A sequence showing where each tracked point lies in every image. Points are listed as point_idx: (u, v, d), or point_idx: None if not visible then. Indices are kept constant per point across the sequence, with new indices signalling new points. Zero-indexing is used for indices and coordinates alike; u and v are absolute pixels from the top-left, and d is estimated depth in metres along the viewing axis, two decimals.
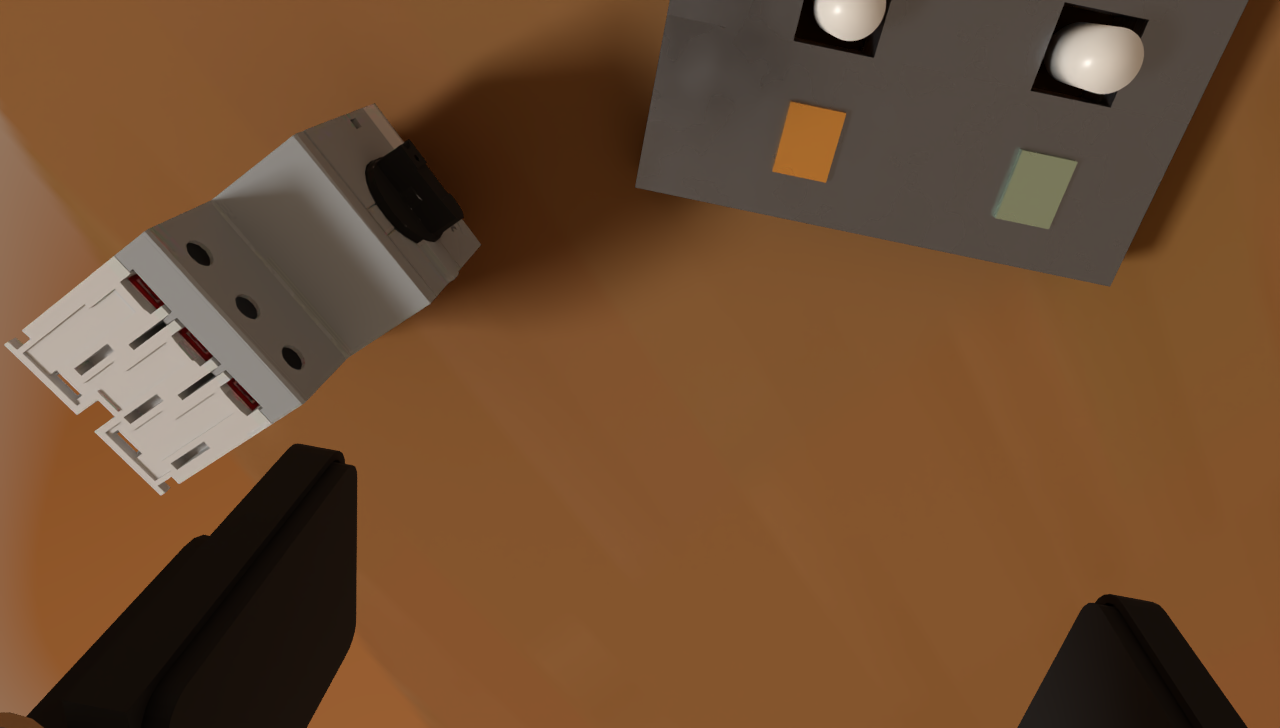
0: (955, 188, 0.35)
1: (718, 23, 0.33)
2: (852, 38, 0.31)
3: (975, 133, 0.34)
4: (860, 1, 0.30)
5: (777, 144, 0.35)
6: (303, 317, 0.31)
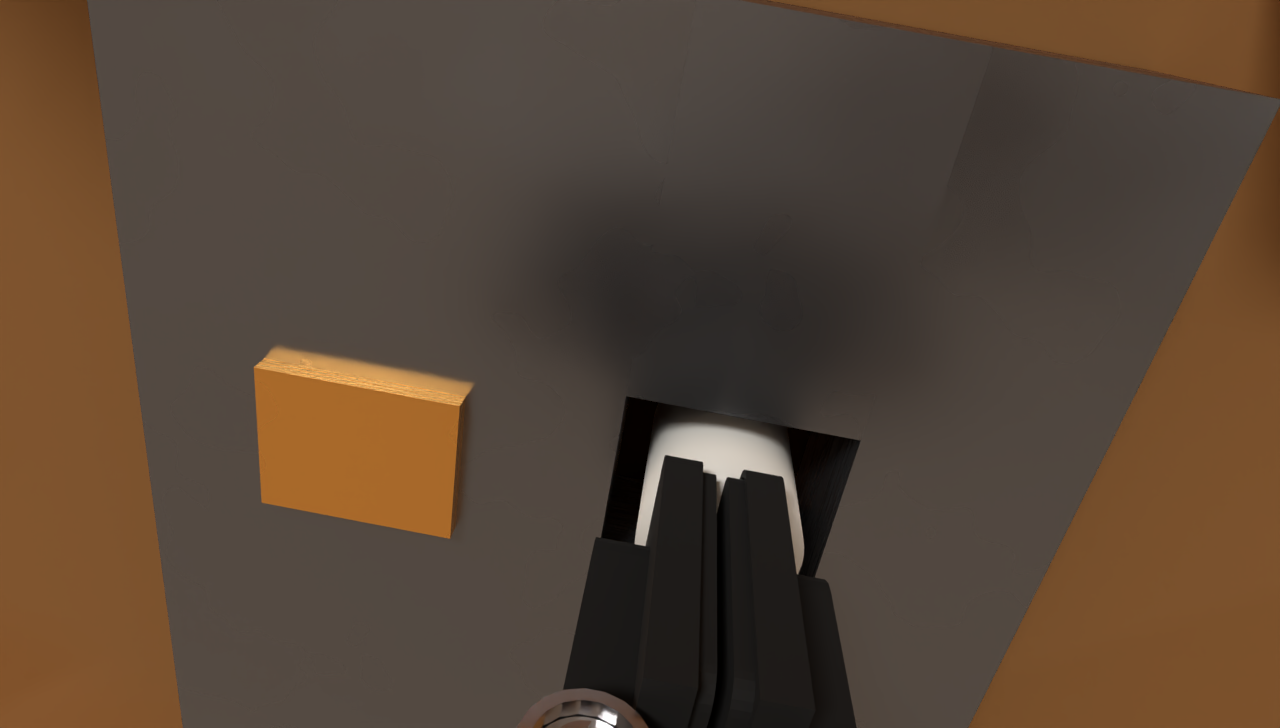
0: None
1: (670, 178, 0.10)
2: None
3: None
4: None
5: (339, 369, 0.12)
6: None
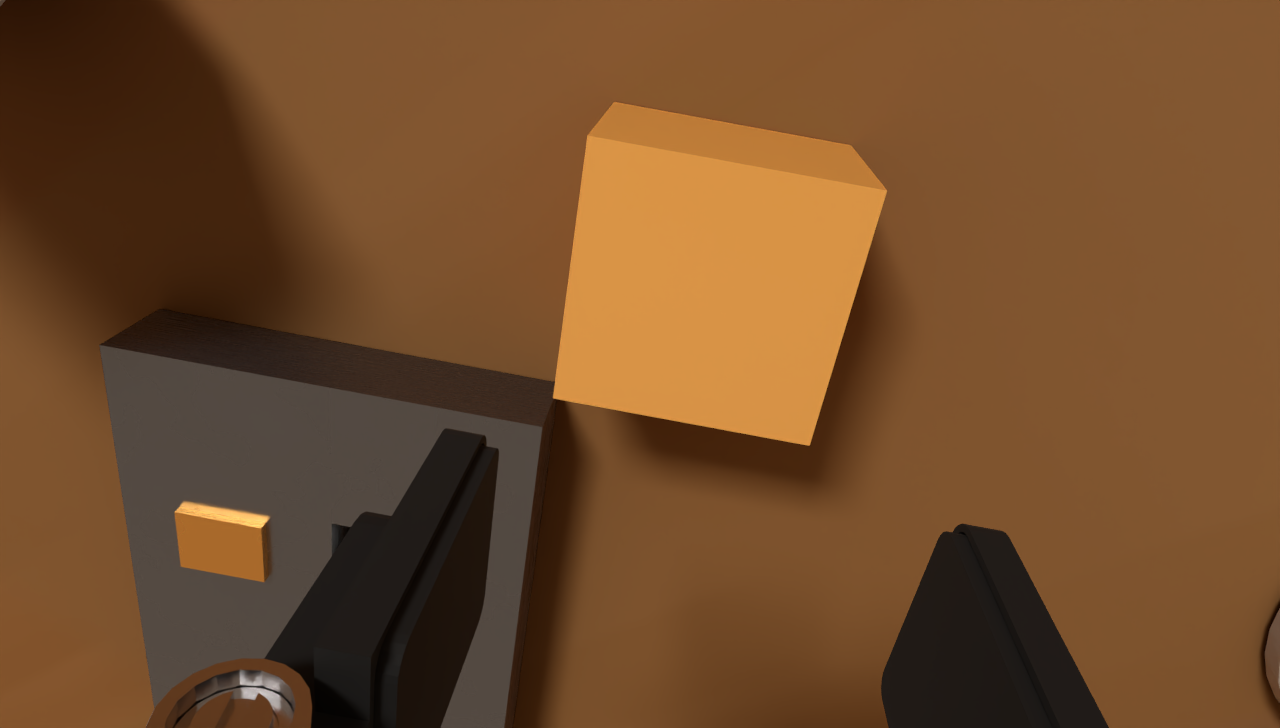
0: None
1: (332, 445, 0.26)
2: None
3: None
4: None
5: (211, 511, 0.28)
6: None
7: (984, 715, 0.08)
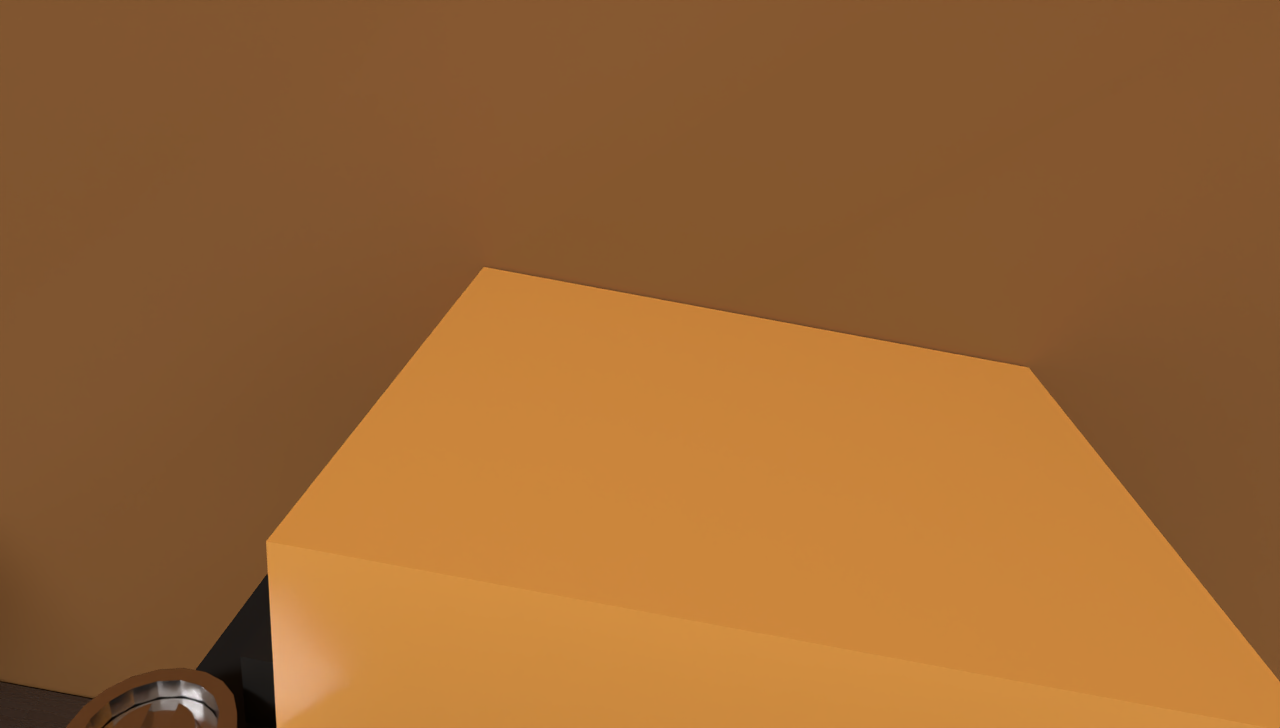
0: None
1: None
2: None
3: None
4: None
5: None
6: None
7: None
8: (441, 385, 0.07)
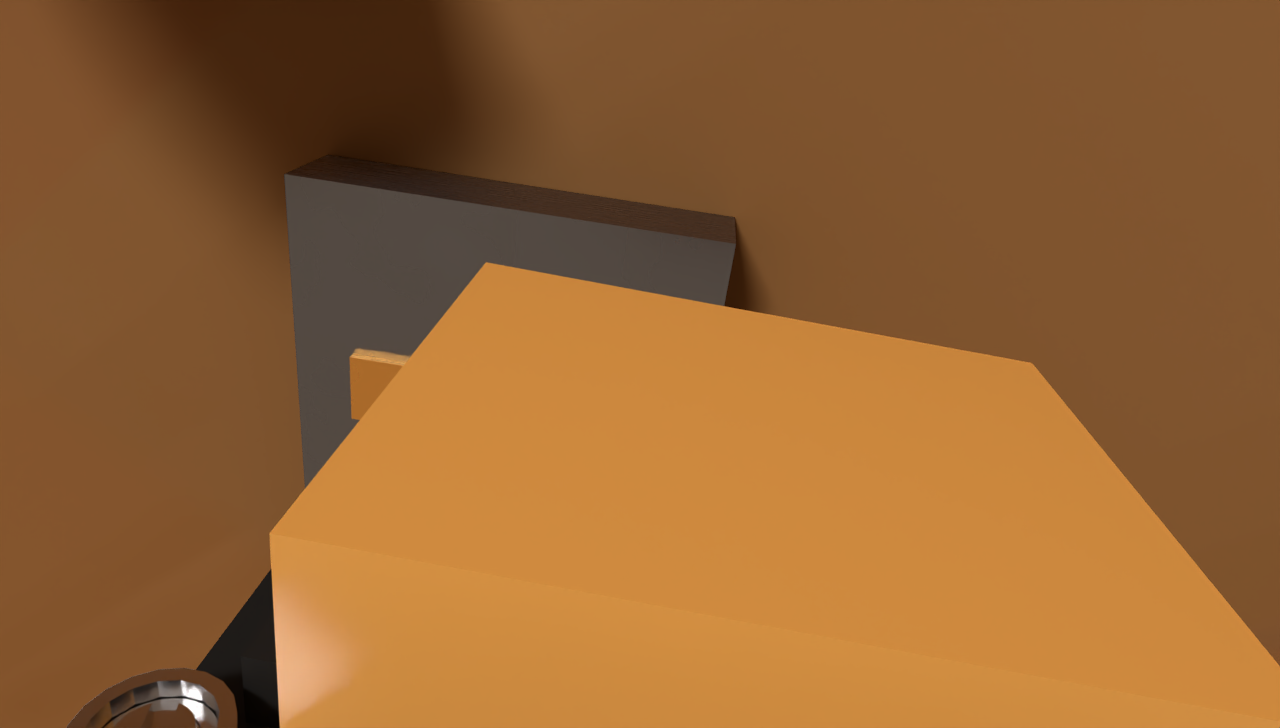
0: None
1: None
2: None
3: None
4: None
5: (385, 357, 0.27)
6: None
7: None
8: (444, 379, 0.07)
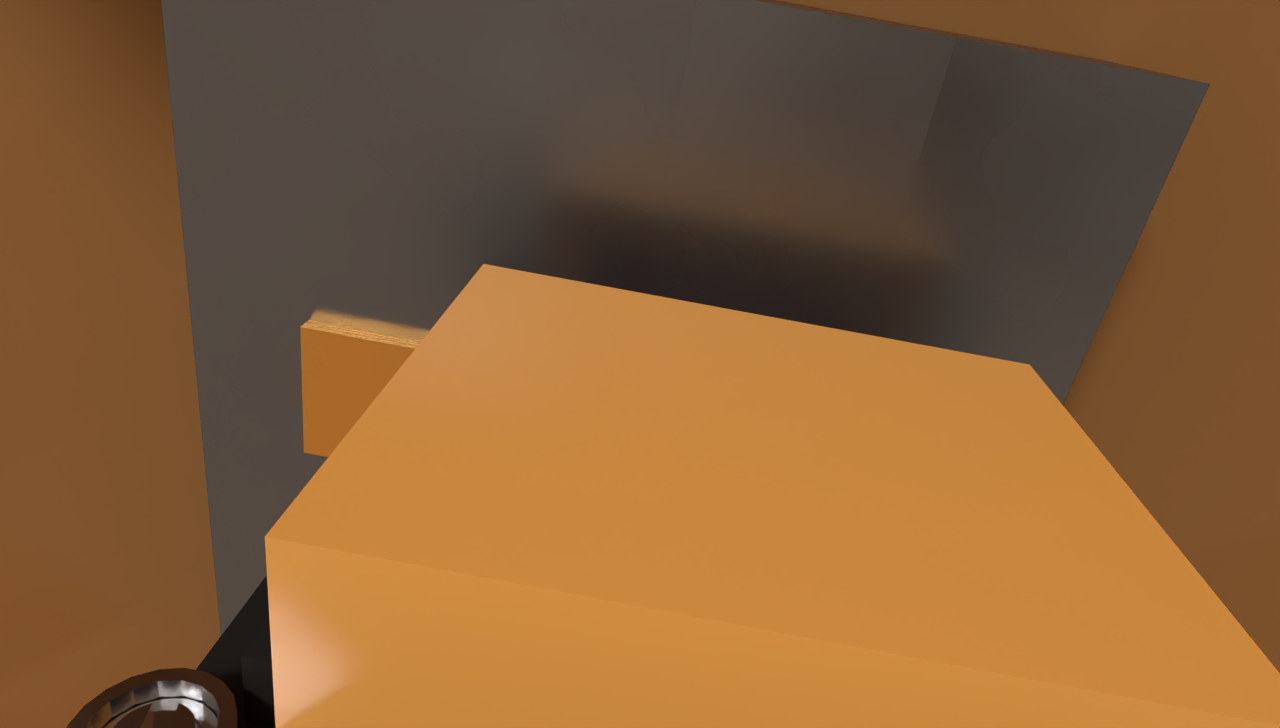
0: None
1: (674, 155, 0.11)
2: None
3: None
4: None
5: (376, 329, 0.13)
6: None
7: None
8: (440, 381, 0.07)
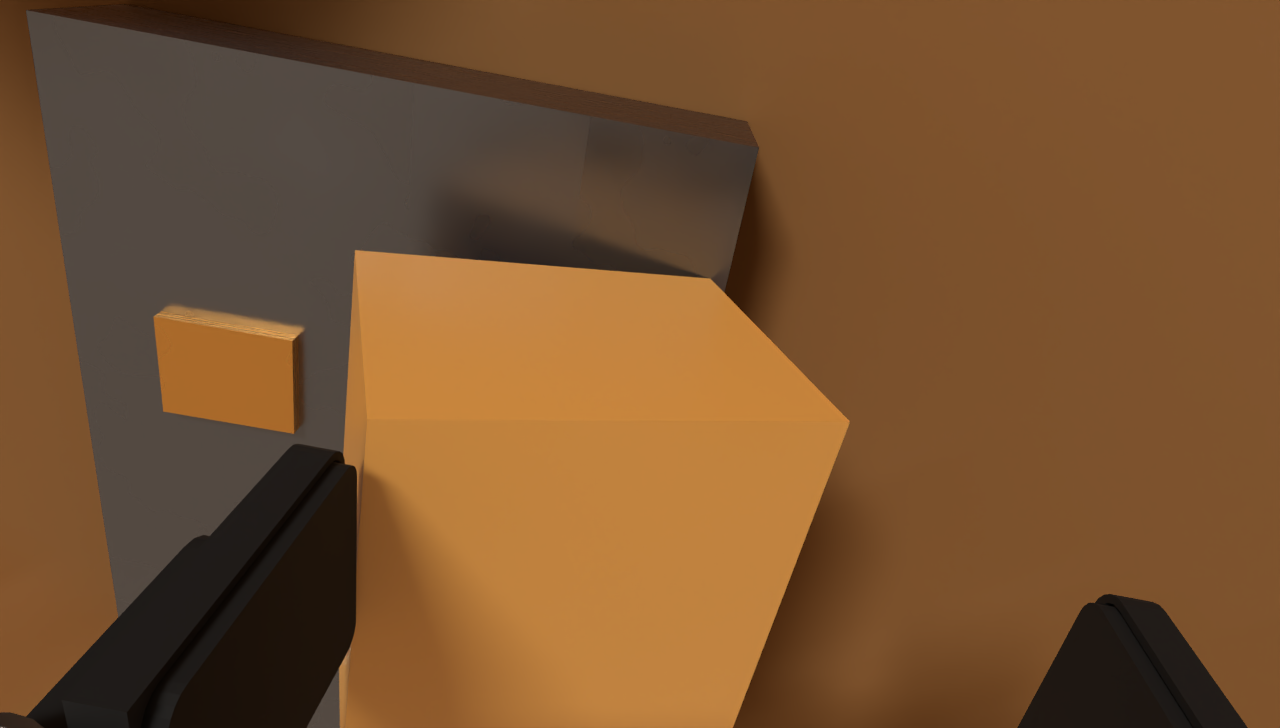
0: None
1: (412, 193, 0.16)
2: None
3: None
4: None
5: (212, 318, 0.18)
6: None
7: None
8: (391, 331, 0.12)
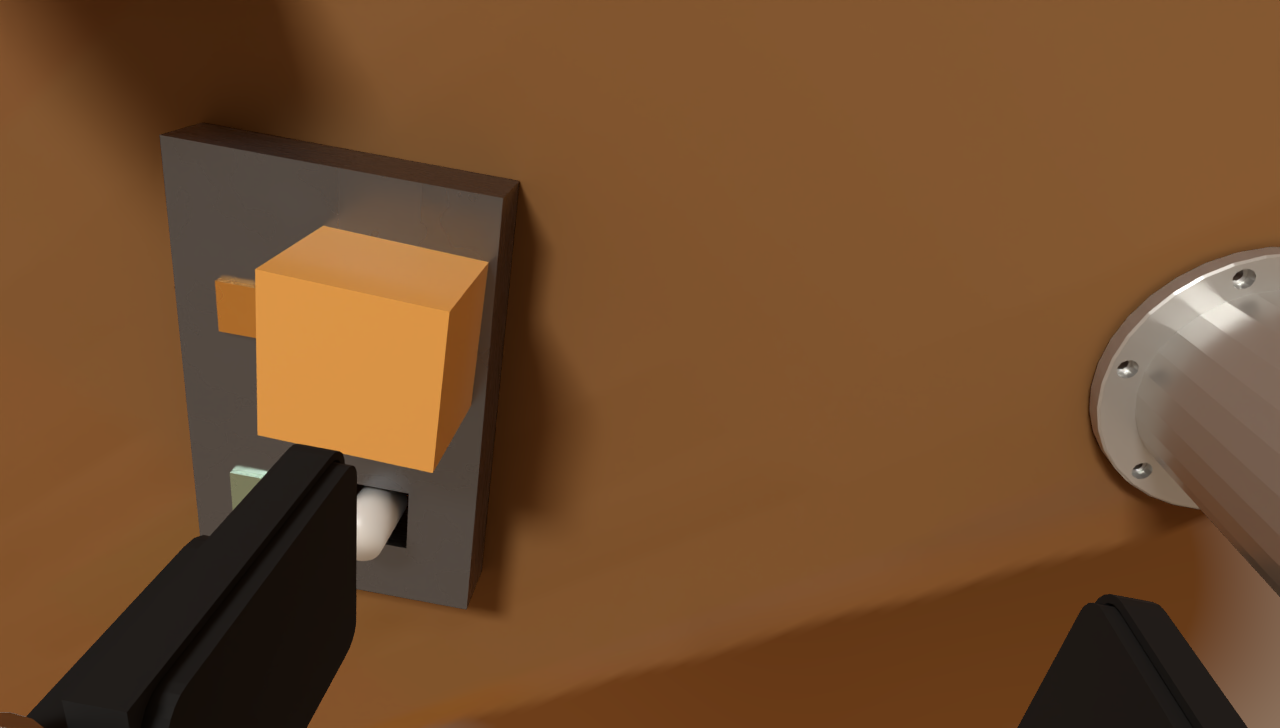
0: (247, 437, 0.38)
1: (340, 219, 0.33)
2: None
3: None
4: None
5: (244, 282, 0.35)
6: None
7: None
8: (298, 250, 0.31)
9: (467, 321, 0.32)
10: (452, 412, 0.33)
